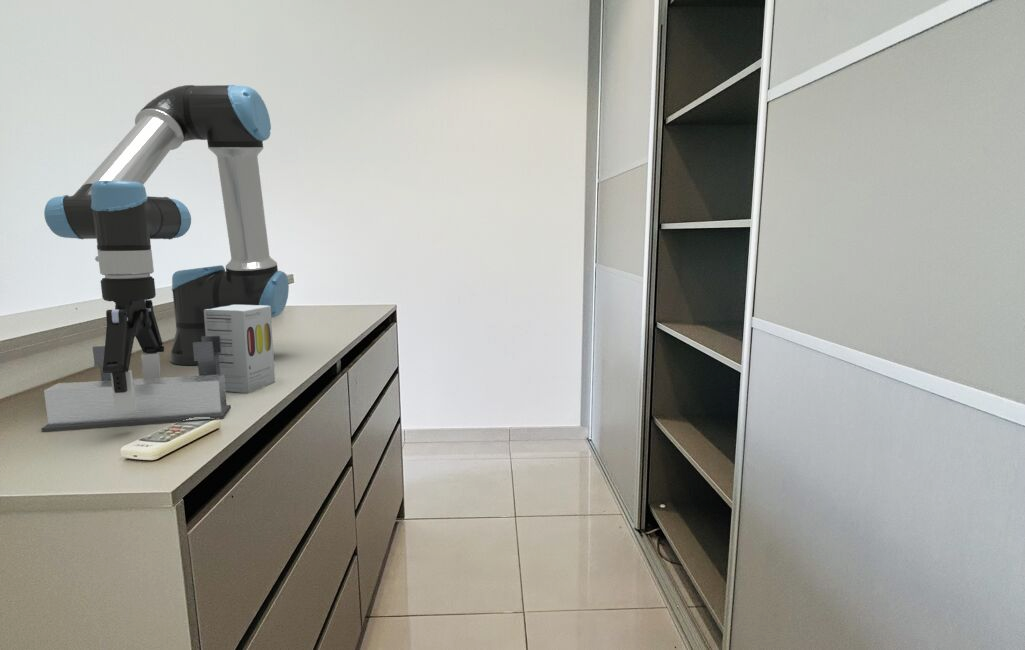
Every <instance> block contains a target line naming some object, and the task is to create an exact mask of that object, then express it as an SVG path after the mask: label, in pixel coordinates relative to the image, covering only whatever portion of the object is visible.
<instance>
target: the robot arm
mask: <svg viewBox="0 0 1025 650" xmlns="http://www.w3.org/2000/svg"><path fill="white" fill-rule="evenodd" d="M271 129H272V125H271V119H270V115H269V111H268V107H267V106H266V104H265V101H264V100H263V98H262V96H261V95H260V93H259V92H258V91H257V90H256V89H254V88H252V87H250V86H245V85H235V84H229V85H224V84H223V85H214V84H213V85H195V84H194V85H193V84H189V85H188V84H186V85H185V84H184V85H180V86H176V87H173V88H171V89H169V90H167V91H165V92H163V93H161V94H159V95H158V96H156V97H155V98H153V99H151V100H150V101H149V102H148V103H146V104H145V105H144V107H143V108H141V110H140V111H139V112H138V113H136V115H135V118H134V126H133V127H132V128H131V130H129V132H128V133H127V134H126V135H125V136H124V137H123V139H122V140H121V141H119V143H118V144H117V145H116V147H114V149H113V150H112V151H111V152H110V153H109V154H108V155H107V157H106V158H105V159H104V160H103V161H102V162H101V164H99V165H98V167H97V168H96V169H95V170H94V171H93V172H92V173H91V175H90V176H89V177H88V178H87V179H86V180H85V182H84V183H83V184H82V185H81V186H80V188H78V190H76V192H75V193H74V194H73V195H68V194H67V195H66V194H65V195H62V196H54V197H52V198H50V199H49V200H48V201H46V204H45V207H44V214H43V215H44V219H45V223H46V225H47V226H48V228H49V229H50V231H51V233H52V234H55V235H56V236H58V237H60V238H65V239H67V238H68V239H78V240H95V239H96V250H97V256H95V258H94V260H95V262H97V263H98V266H99V267H98V268H99V274H100V275H102V276H104V277H103V278H101V280H100V288H101V289H100V290H101V298H102V299H103V301H106V302H113V303H114V309H106V311H105V312H106V313H105V316H106V330H105V340H104V341H105V344H104V346H105V351H104V362H103V373H111V381H112V390H113V399H114V408H115V412H122V411H134V410H135V409H136V408H135V398H134V389H133V372H132V370H129V368H130V363H131V357H132V352H133V347H134V341H135V339H136V340H137V342H138V344H139V346H140V349H141V350H142V353H141V354H140V359H141V368H142V369H141V370H142V379H148V378H162V370H161V360H160V353H164V351H165V346H164V343H163V340H162V337H161V334H160V329H159V326H158V323H157V320H156V316H155V312H154V304H153V301H152V299H154V298H156V283H155V278H154V277H153V276H151V274H153V273H154V272H155V271H154V261H153V260H154V259H153V252H152V245H151V243H152V242H151V240H173V239H176V238H177V239H178V238H180V237H183V236H184V235H186V233H188V231H189V230H190V227H191V224H192V215H191V212H190V210H189V208H188V207H187V206H186V205H185V204H184V203H183V202H182V201H179V200H178V199H175V198H171V197H168V196H150V195H149V196H148V194H147V192H146V187H145V183H146V182H147V181H148V180H149V178H150V177H151V175H152V174H153V173H154V172H155V170H156V169H157V168H158V167H159V165H160V164H161V163H162V162H163V160H164V159H165V157H166V156H167V155H168V154H169V153H170V151H173V150H174V151H175V150H176V149H179V147H181V146H182V144H183V143H184V142H188V141H194V140H201V141H207V147H208V148H207V149H208V150H210V151H211V152H212V153H213V154H214V155H215V157H216V159H217V167H218V173H219V182H220V188H221V194H222V201H223V202H222V203H223V209H224V210H223V211H224V215H225V223H226V230H227V231H226V232H227V238H228V243H229V244H228V245H229V251H230V260H229V262H228V263H227V264H226V265H225V267H224V265H221V264H220V265H213V266H206V267H197V268H190V269H182V270H177V271H175V272H174V273H173V274H172V278H171V280H172V281H171V291H172V298H173V310H174V317H175V318H174V320H175V329H176V331H175V334H174V338H173V343H172V347H171V349H170V352H169V353H170V362H171V363H172V364H175V365H182V366H183V365H184V366H196V365H197V366H198V361H194V351H193V342H202V340H201V337H202V336H206V333H205V320H204V310H205V309H212V308H218V307H224V306H230V305H266V306H271V319H272V318H273V319H274V318H276V317H278V316H280V315H281V314H282V313H283V311H284V310H285V308H286V305H287V302H288V299H289V298H288V297H289V293H290V292H289V291H290V289H289V288H290V287H289V284H290V282H289V278H288V276H287V273H285V272H284V271H282V270H279V269H278V262H277V261H276V260H275V259H273V258H272V257H271V256H270V250H269V249H270V248H269V241H268V234H267V226H266V225H267V224H266V216H265V207H264V199H263V192H262V185H261V184H262V183H261V182H262V181H261V175H260V166H259V159H258V156H259V154H260V153H261V152H263V150H264V143H263V142H264V141H267V140H268V139H269V138H270V136H271Z"/></svg>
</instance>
